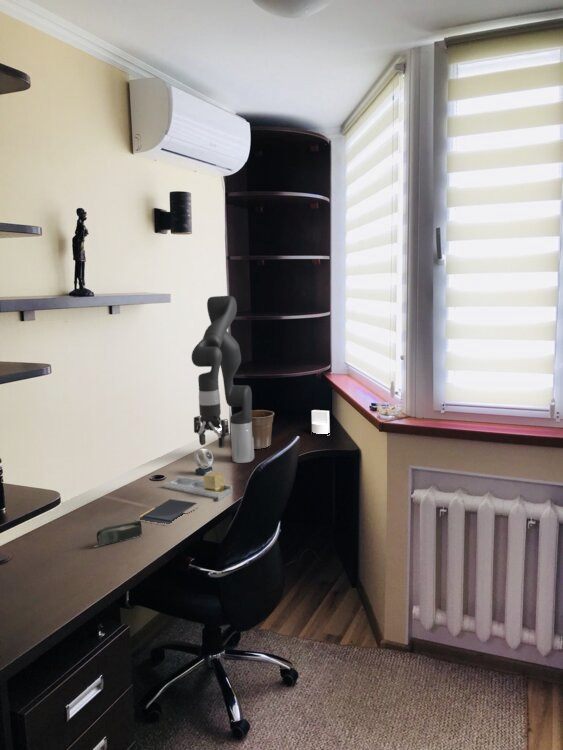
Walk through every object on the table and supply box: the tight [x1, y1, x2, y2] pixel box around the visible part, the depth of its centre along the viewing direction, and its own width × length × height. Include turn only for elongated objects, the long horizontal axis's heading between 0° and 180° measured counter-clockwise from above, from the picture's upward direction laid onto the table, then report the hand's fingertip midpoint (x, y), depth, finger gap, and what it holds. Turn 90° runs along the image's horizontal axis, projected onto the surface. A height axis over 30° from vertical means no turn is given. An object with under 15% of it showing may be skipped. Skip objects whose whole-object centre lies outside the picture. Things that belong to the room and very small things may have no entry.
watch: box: [193, 448, 214, 477], centre depth 234 cm, size 6×8×11 cm
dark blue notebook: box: [139, 498, 198, 524], centre depth 198 cm, size 20×2×15 cm
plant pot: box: [252, 409, 275, 450], centre depth 274 cm, size 16×16×16 cm
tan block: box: [203, 470, 225, 493], centre depth 212 cm, size 5×5×7 cm
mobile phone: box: [93, 520, 143, 548], centre depth 176 cm, size 5×3×15 cm
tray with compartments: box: [163, 475, 233, 502], centre depth 216 cm, size 8×26×3 cm, turn 58°
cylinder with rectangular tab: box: [311, 409, 331, 434], centre depth 293 cm, size 9×9×12 cm
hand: (212, 445), depth 209 cm, fingers open, 8 cm apart
